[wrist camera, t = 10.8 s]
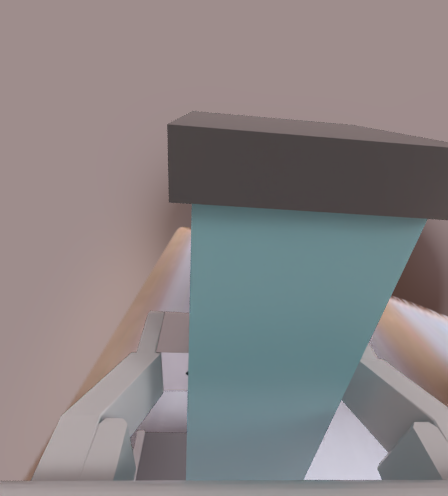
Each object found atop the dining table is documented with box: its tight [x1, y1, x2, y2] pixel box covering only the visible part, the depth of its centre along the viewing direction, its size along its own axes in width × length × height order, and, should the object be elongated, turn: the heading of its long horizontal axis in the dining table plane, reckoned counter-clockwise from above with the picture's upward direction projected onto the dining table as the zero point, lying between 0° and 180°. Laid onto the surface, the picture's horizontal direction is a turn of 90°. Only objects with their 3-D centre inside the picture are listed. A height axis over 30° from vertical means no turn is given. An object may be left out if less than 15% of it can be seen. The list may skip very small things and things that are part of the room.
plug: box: [167, 111, 448, 480], centre depth 10 cm, size 4×4×18 cm
